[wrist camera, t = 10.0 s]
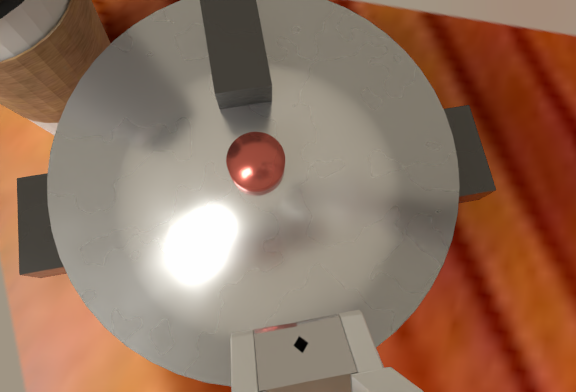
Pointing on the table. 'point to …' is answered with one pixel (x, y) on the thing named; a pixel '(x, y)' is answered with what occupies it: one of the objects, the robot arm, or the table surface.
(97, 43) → the coffee cup
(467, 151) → the cooker pot
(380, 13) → the table surface
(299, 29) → the lid
